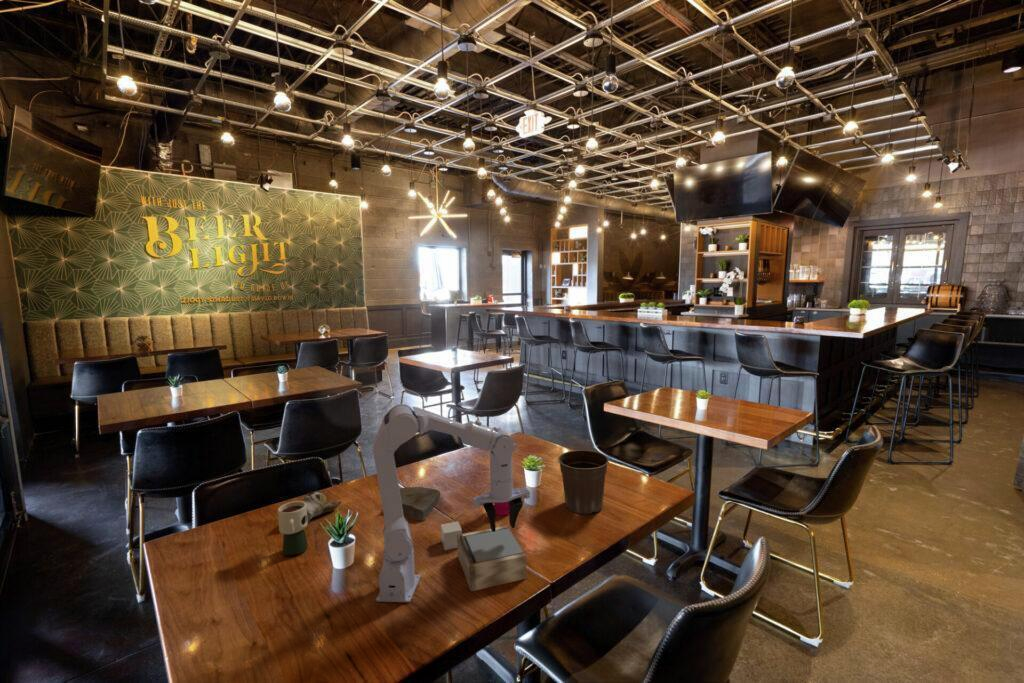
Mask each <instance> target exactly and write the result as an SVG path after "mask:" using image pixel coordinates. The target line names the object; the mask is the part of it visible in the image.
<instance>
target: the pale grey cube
mask: <svg viewBox="0 0 1024 683" xmlns="http://www.w3.org/2000/svg"><path fill="white" fill-rule="evenodd" d="M440 531H441V532H440V536H441V538H440V539H441V543H442V547H443V550H444V551H447V550H452V549H458V545H457V535H460V534H463V530H462V527H461V525H460V523H459V521H458V520H457V521H453V522H448V523H447V522H446V523H443V524H440Z"/></svg>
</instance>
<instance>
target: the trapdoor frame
mask: <svg viewBox="0 0 1024 683" xmlns="http://www.w3.org/2000/svg"><path fill="white" fill-rule="evenodd" d="M495 528H496V529H495V531H497V530H502V529H508V528H509V526H508V525H503V526H502V525H501V526H497V527H496V526H495ZM487 532H492V530H491V528H487V529H482V530H477V531H476V530H475V531H471V532H465V533H462V534H460V535H457V545H458V548H457V557H458V560H459V562H460V566H461V569H462V571H463V574H464V577H465V579H466V582H467V585H468V588H469V589H470V590H469V591H470V592H474V591H480V590H485V589H487V588H492V587H497V586H500V585H505V584H508V583H513V582H518V581H521V580H525V579H526V580H527V556H526V553H522V554H518V555H513V556H508V557H504V558H499V559H494V560H490V561H485V562H481V563H475V562H474V558H473V556H472V554H471V551H470V549H469V546H468V544H467V542H466V537H467V536H472V535H477V534H482V533H487Z"/></svg>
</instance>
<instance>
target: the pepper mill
mask: <svg viewBox="0 0 1024 683" xmlns="http://www.w3.org/2000/svg"><path fill="white" fill-rule="evenodd" d="M493 505H494V508H495V510H496V512H495V515H498V516H501V517H502V516H508V515H509V516H510V510H509V501H508V502H497V503H493Z"/></svg>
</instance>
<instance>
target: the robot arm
mask: <svg viewBox="0 0 1024 683" xmlns="http://www.w3.org/2000/svg"><path fill="white" fill-rule="evenodd" d="M430 430H431V431H436V432H439V433H443V434H446V435H451V436H453V437H454V436H455V437H458V438H460V441H461V442H462V444H463V445H467V446H470V447H473V448H475V449H476V448H477V449H480V450H483V451H486V452H488V451H489V478H490V480H489V481H490V482H489V483H490V484H489V486H490V491H488V492H486V493H483V494H481V495H477V496H473V506H474V508H480V506H482V507H483V509H484V511H485V513H486V515H487V519H488V522H489V525H490V529H491V530H492V532H495V529H496V514H495V512H496V510H495V508H494V505H495V504H494V503H497V502H508V501H509V510H510V514H509V526H510V527H511V529H514V528H515V527H516V522H517V519H518V516H519V513H520V512H521V509H522V507H523V506H524V501H523V500H522V499H531V496H530V494H531V493H530V492H531V491H530V490H529V488H528V487H524V488H514V484H513V483H514V482H513V481H514V480H513V479H514V478H513V477H514V476H513V473H514V472H513V454H514V452H515V451H516V444H515V441H514V439H513V438H512V436H511V435H510V434H509V433H507V432H506V431H505V430H504V429H501V427H496V426H493V427H490V426H487V425H484V424H482V422H481V421H480V420H477V419H476V420H474V421H472V420H471V421H470V420H469V421H468V422H465V423H462V422H459V421H456V420H454V419H452V418H448V417H445V416H443V415H440V414H438V413H435V412H433V411H429V410H426V409H423V408H421V407H418V406H412V407H411V406H410V405H407V404H404V403H400V404H396V405H394V406H393V407H391V408H390V409H389V410H388V411H387V412H386V413H385V414H384V415H383V419H382V421H381V424H380V426H379V427H378V430H377V433H376V434H375V437H374V439H373V441H372V453H373V460H374V467H375V471H376V476H377V477H376V478H377V484H378V488H379V494H380V495H379V496H380V502H381V506H382V514H383V519H384V526H383V528H382V534H383V540H384V548H383V550H382V568H381V570H380V573H379V575H378V586H379V587H378V588H379V593H378V595H377V596H376V598H375V601H376V602H378V603H379V602H380V603H381V602H384V603H410V602H411V600H412V598H413V596H414V593H415V592H416V591H415V590H416V589H417V586H418V583H419V581H420V578H421V575H420V574H416V572H415V571H416V570H415V552H414V542H413V539H412V537H411V533H410V532H411V531H410V524H409V522H408V520H407V519H406V517H405V516H404V514H403V508H402V502H401V496H400V486H399V484H400V483H399V480H398V479H399V477H398V472H397V467H396V466H397V465H396V460H395V452H396V451H397V450H398V448H400V446H402V445H403V444H405V443H406V442H407V441H409V440H411V439H412V438H413V437H415V436H416V434H417V433H418V434H419V435H423V434H424V433H427V432H428V431H430Z"/></svg>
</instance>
